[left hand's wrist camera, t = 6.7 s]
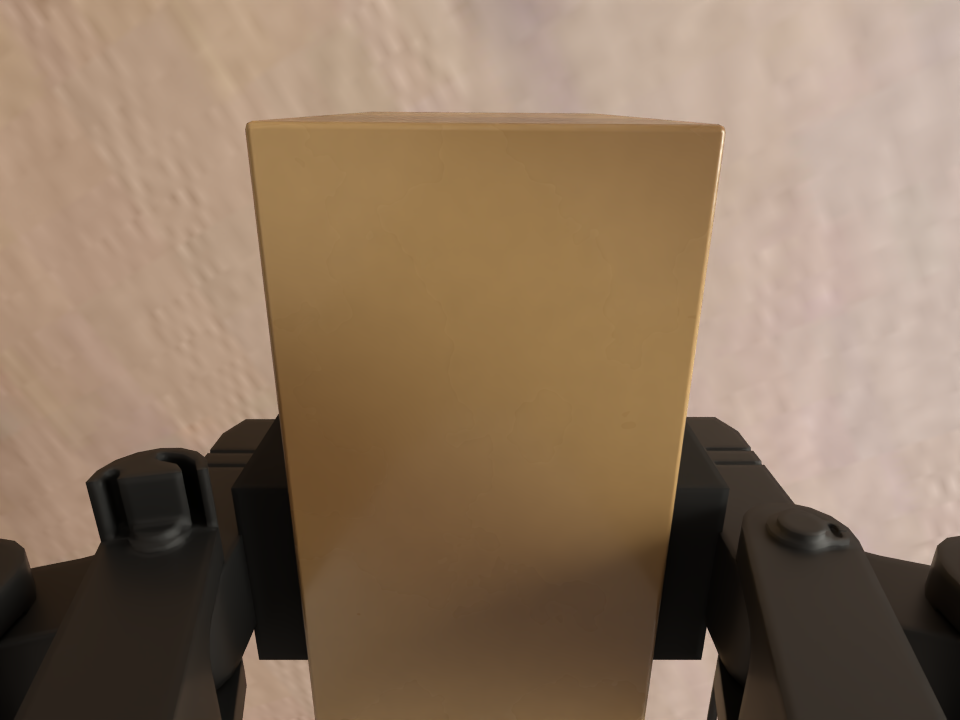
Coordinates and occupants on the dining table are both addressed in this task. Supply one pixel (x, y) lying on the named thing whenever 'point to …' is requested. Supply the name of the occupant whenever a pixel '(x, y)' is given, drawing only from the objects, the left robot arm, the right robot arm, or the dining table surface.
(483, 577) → the bar
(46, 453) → the dining table surface
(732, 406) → the dining table surface
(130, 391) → the dining table surface
